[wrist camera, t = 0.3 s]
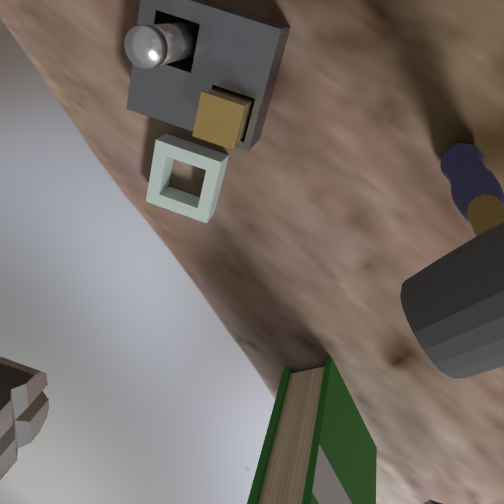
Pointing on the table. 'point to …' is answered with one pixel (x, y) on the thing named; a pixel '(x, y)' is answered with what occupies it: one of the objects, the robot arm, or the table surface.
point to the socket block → (210, 64)
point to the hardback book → (315, 444)
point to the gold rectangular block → (223, 117)
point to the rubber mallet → (464, 277)
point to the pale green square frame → (193, 155)
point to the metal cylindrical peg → (161, 43)
